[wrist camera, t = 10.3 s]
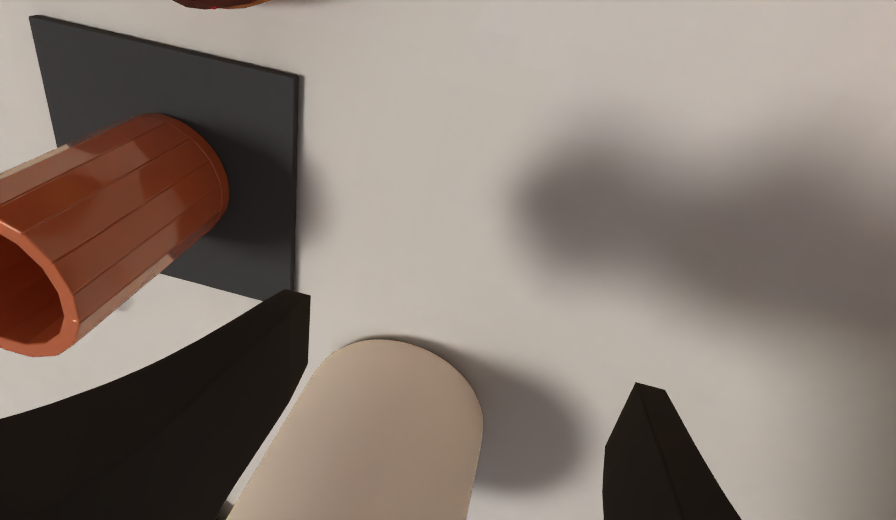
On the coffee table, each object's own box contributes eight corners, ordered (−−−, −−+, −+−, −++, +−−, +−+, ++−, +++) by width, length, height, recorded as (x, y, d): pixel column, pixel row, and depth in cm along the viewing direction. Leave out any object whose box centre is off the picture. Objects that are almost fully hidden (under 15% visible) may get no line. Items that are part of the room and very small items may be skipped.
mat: (294, 303, 25) (290, 308, 25) (86, 247, 26) (79, 252, 26) (299, 75, 20) (294, 77, 19) (37, 14, 21) (27, 16, 20)
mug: (336, 496, 32) (242, 713, 23) (232, 393, 29) (82, 597, 20) (521, 436, 26) (488, 690, 18) (415, 304, 24) (316, 528, 15)
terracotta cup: (232, 244, 24) (92, 375, 17) (121, 215, 24) (-59, 331, 17) (227, 129, 21) (58, 231, 14) (102, 98, 21) (-120, 183, 15)
